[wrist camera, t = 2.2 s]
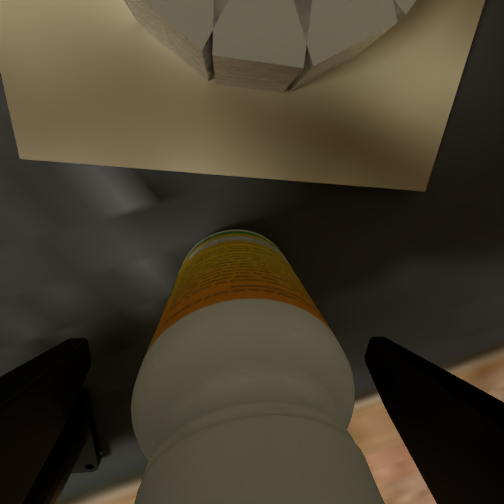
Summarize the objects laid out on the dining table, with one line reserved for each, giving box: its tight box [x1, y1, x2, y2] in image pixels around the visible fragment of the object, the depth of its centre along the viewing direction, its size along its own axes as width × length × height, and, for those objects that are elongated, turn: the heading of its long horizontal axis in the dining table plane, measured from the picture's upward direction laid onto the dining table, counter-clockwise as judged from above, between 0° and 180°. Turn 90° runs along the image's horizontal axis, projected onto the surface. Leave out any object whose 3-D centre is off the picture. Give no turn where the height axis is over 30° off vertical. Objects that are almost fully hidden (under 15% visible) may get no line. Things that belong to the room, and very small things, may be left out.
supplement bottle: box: [131, 229, 385, 504], centre depth 8 cm, size 5×5×10 cm
